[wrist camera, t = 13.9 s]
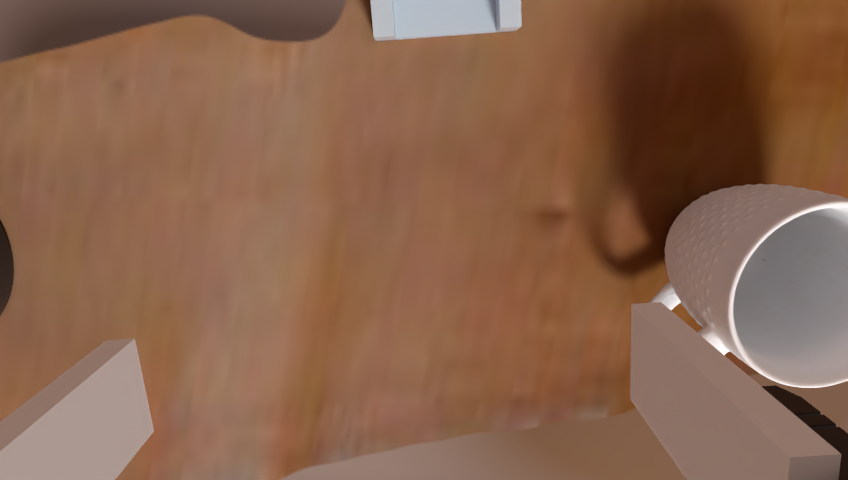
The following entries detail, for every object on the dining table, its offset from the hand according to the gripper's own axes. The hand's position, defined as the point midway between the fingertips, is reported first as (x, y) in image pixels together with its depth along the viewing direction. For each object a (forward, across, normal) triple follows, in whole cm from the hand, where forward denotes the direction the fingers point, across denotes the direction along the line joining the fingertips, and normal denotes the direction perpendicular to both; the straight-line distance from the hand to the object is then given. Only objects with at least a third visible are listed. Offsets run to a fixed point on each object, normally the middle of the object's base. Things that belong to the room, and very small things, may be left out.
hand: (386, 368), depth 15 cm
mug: (+29, +22, -6) cm, 37 cm away
